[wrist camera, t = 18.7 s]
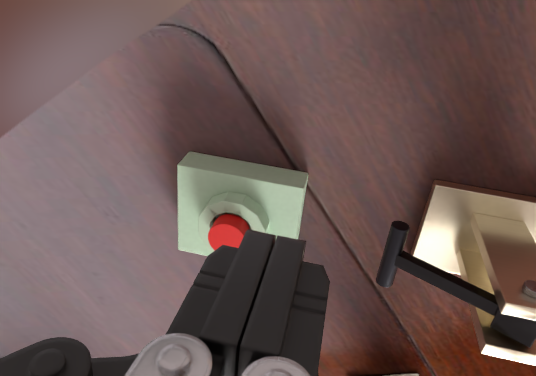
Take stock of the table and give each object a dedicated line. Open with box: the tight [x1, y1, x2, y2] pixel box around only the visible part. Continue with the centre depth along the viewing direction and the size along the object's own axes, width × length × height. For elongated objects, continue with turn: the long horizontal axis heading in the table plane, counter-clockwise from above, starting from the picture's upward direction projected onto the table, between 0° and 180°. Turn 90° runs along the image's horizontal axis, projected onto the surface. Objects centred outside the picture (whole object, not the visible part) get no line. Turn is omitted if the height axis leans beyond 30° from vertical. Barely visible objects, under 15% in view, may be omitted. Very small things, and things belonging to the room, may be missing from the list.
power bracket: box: [410, 180, 536, 366], centre depth 36 cm, size 12×9×13 cm
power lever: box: [376, 221, 536, 348], centre depth 34 cm, size 12×6×2 cm, turn 85°
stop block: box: [177, 151, 308, 256], centre depth 44 cm, size 12×10×5 cm
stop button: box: [208, 214, 250, 250], centre depth 41 cm, size 4×4×2 cm
